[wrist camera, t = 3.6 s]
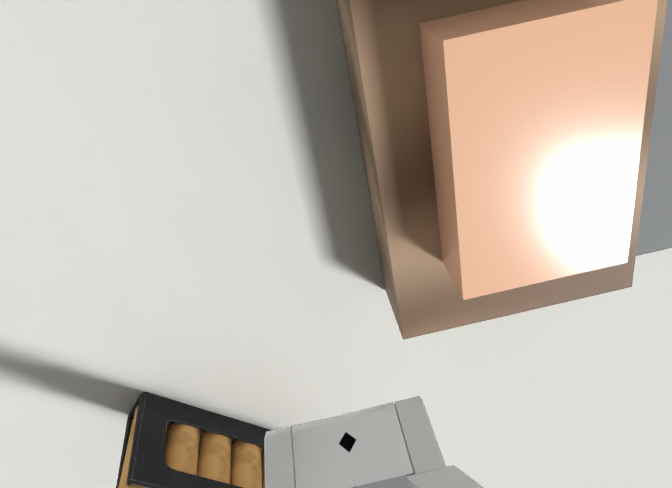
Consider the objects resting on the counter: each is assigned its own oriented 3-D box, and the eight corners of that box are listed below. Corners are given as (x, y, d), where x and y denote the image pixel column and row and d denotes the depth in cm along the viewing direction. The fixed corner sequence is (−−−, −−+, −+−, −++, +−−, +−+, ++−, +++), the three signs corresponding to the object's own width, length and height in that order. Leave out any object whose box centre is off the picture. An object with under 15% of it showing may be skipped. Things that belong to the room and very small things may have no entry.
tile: (419, 23, 17) (443, 40, 15) (609, -19, 17) (658, -8, 15) (442, 261, 22) (463, 300, 20) (591, 227, 22) (627, 262, 20)
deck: (321, -95, 18) (334, -94, 15) (618, -160, 19) (688, -171, 16) (386, 290, 27) (403, 339, 24) (589, 244, 27) (631, 286, 24)
